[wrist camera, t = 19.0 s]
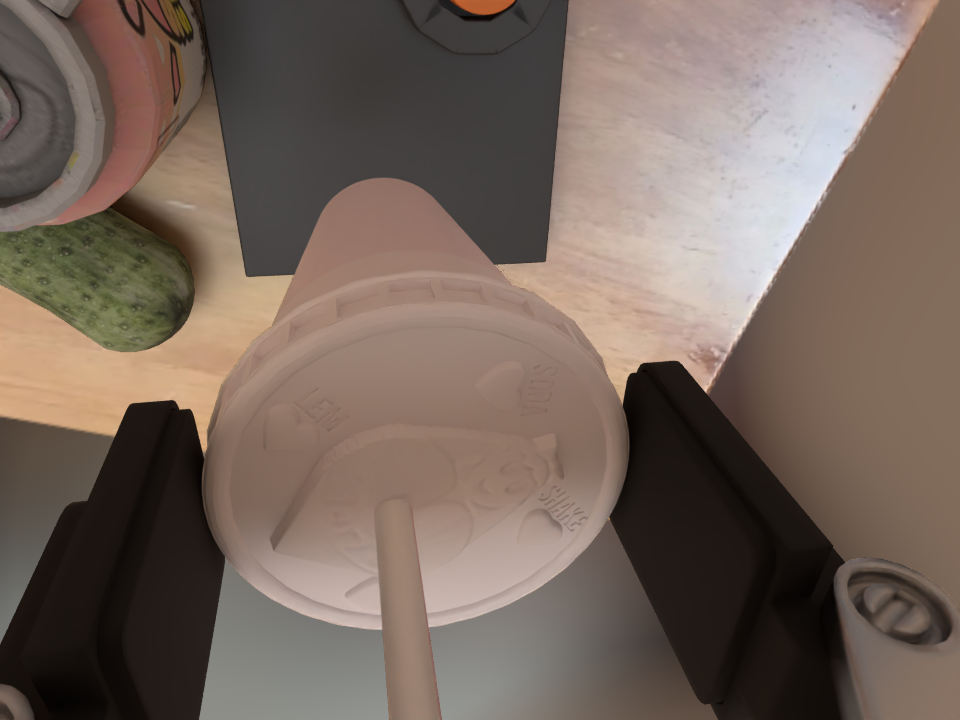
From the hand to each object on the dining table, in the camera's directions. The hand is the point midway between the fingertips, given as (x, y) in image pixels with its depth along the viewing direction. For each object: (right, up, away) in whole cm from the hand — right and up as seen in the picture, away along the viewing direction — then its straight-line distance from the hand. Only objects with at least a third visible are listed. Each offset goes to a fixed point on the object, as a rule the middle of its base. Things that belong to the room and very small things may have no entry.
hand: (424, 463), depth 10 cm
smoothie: (-2, +5, +8) cm, 9 cm away
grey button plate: (-3, +13, +18) cm, 23 cm away
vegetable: (-18, +8, +18) cm, 27 cm away
